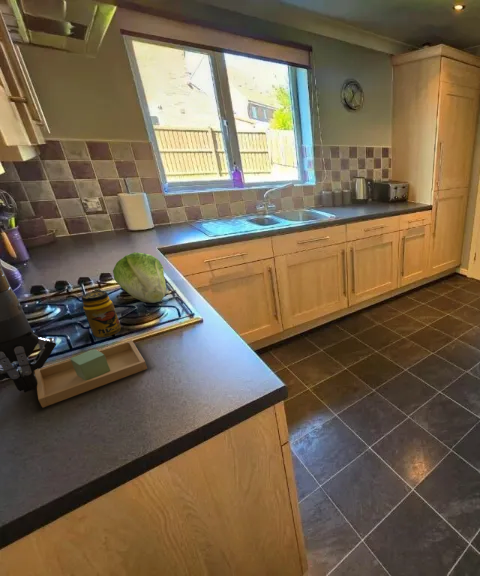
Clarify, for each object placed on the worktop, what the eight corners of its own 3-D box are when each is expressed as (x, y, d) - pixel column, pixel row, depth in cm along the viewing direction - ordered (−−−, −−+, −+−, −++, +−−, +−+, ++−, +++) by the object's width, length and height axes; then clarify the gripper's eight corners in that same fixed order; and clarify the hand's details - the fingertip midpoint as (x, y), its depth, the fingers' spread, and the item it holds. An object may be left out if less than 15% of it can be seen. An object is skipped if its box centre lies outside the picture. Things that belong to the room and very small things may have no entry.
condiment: (115, 339, 88) (101, 299, 83) (78, 342, 86) (62, 301, 81) (128, 325, 94) (116, 287, 89) (95, 328, 92) (80, 289, 88)
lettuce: (184, 307, 111) (133, 324, 103) (164, 276, 126) (118, 288, 117) (172, 272, 103) (116, 287, 95) (153, 243, 118) (103, 253, 109)
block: (86, 382, 71) (79, 365, 70) (76, 375, 73) (69, 358, 71) (110, 370, 75) (104, 354, 73) (100, 364, 77) (94, 348, 75)
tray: (43, 409, 65) (38, 399, 64) (39, 379, 72) (34, 370, 71) (147, 370, 76) (145, 361, 75) (134, 348, 84) (131, 339, 83)
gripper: (41, 297, 67) (70, 367, 74) (-63, 318, 58) (-19, 395, 65) (44, 310, 62) (75, 383, 69) (-69, 335, 53) (-21, 416, 60)
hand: (29, 389), depth 67 cm, fingers closed
